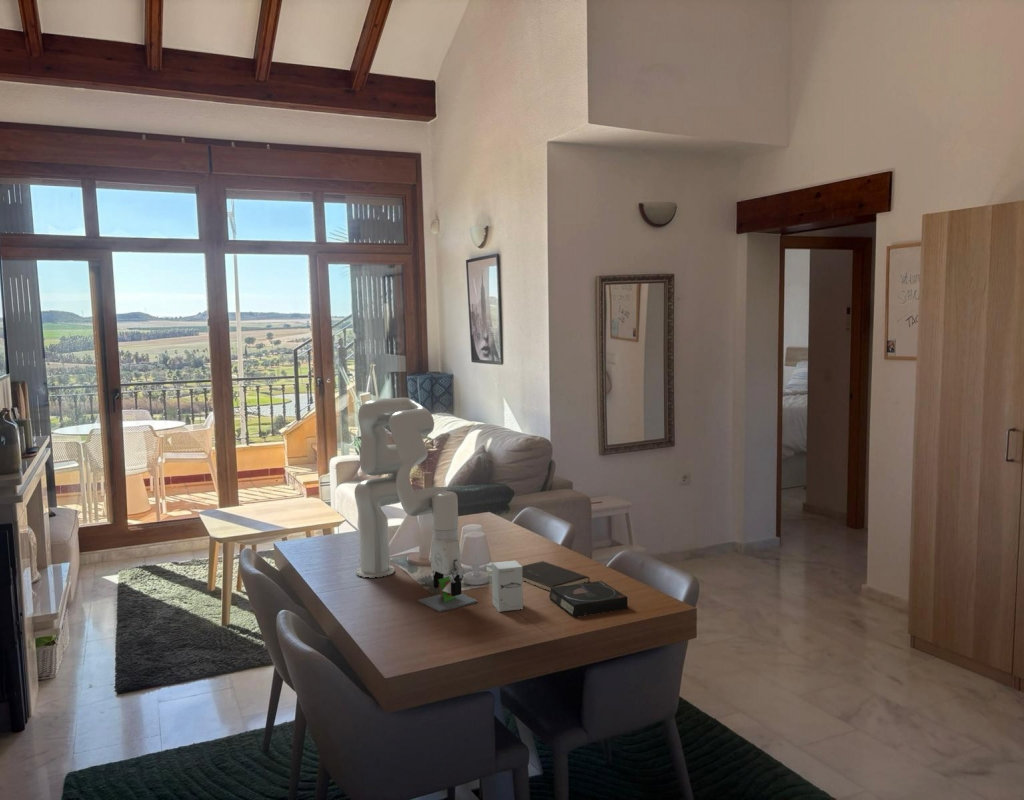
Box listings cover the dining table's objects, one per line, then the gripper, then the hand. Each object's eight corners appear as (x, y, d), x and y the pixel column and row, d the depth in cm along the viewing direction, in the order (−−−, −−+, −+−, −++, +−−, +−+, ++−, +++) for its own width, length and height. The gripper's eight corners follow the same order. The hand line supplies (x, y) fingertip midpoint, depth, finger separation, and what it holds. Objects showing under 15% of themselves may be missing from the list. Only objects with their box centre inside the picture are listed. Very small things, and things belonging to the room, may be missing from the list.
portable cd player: (549, 601, 235) (549, 588, 235) (601, 593, 241) (601, 580, 240) (572, 619, 219) (572, 605, 219) (627, 610, 225) (627, 596, 225)
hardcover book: (550, 593, 242) (550, 586, 242) (506, 576, 260) (505, 569, 260) (589, 583, 251) (589, 576, 251) (544, 567, 270) (544, 560, 270)
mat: (418, 601, 236) (418, 599, 236) (455, 592, 244) (455, 590, 243) (439, 612, 226) (439, 610, 226) (477, 602, 234) (477, 600, 234)
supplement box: (498, 612, 225) (497, 568, 224) (492, 604, 232) (491, 561, 231) (523, 609, 227) (522, 566, 226) (516, 601, 234) (515, 559, 233)
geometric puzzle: (426, 591, 236) (435, 573, 232) (444, 586, 241) (454, 568, 237) (439, 610, 233) (449, 592, 229) (457, 604, 237) (467, 586, 233)
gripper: (419, 530, 238) (421, 586, 239) (450, 541, 224) (452, 601, 225) (441, 526, 242) (443, 581, 244) (472, 537, 229) (474, 595, 230)
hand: (447, 591), depth 235 cm, fingers open, 9 cm apart
